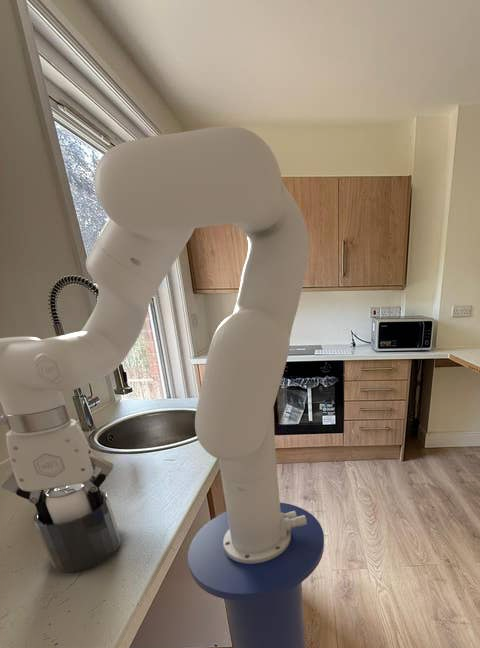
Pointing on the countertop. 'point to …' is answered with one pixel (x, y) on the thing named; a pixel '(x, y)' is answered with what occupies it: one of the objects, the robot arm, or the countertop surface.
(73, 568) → the open gray tub
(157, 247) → the robot arm
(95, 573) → the countertop surface
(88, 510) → the can
